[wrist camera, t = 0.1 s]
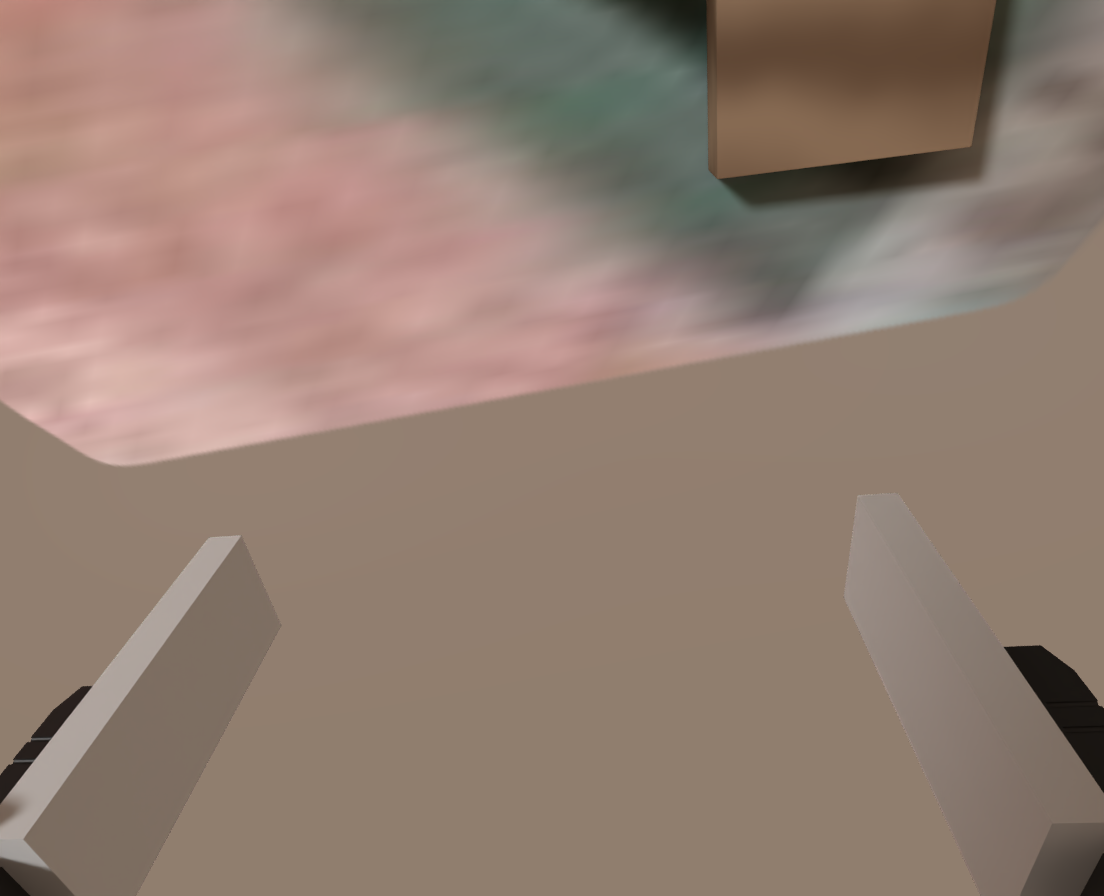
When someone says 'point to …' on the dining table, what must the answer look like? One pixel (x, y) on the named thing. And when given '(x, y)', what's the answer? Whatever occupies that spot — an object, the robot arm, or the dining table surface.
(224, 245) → the dining table surface
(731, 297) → the dining table surface
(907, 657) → the robot arm
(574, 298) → the dining table surface
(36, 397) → the dining table surface
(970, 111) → the walnut board
